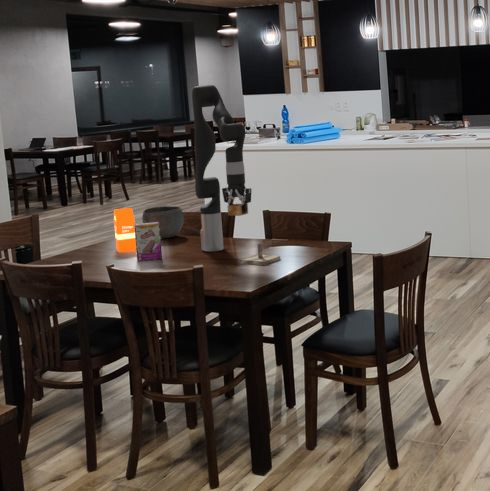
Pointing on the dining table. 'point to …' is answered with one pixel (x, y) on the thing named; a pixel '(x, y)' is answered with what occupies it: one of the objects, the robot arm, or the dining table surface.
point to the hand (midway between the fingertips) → (238, 212)
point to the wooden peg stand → (260, 258)
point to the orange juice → (124, 230)
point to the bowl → (165, 219)
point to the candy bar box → (148, 241)
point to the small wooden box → (236, 210)
